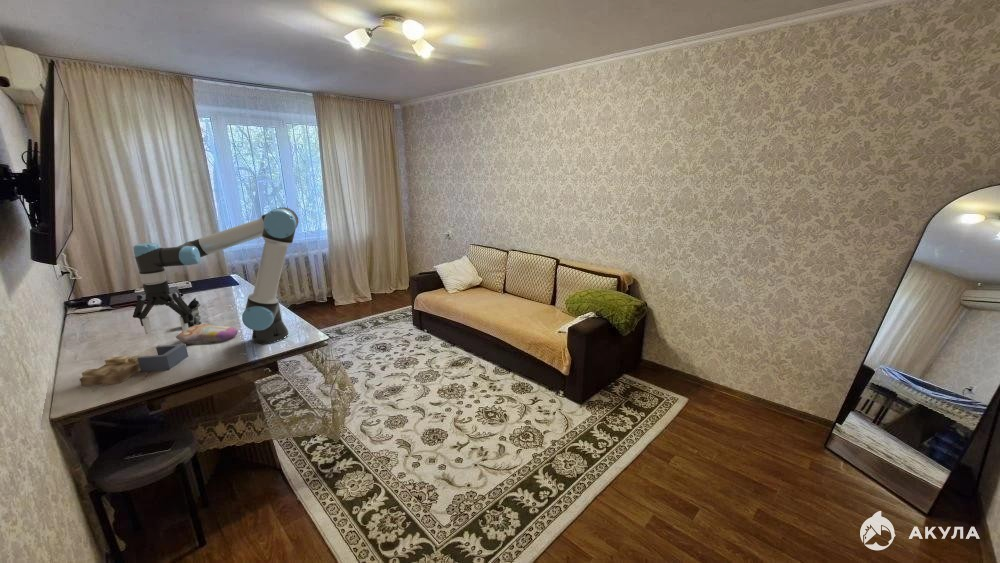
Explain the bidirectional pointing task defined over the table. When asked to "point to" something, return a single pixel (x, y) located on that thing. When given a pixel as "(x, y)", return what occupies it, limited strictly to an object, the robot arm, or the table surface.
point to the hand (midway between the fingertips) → (167, 331)
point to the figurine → (194, 313)
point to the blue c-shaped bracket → (163, 358)
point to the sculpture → (207, 333)
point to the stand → (111, 371)
